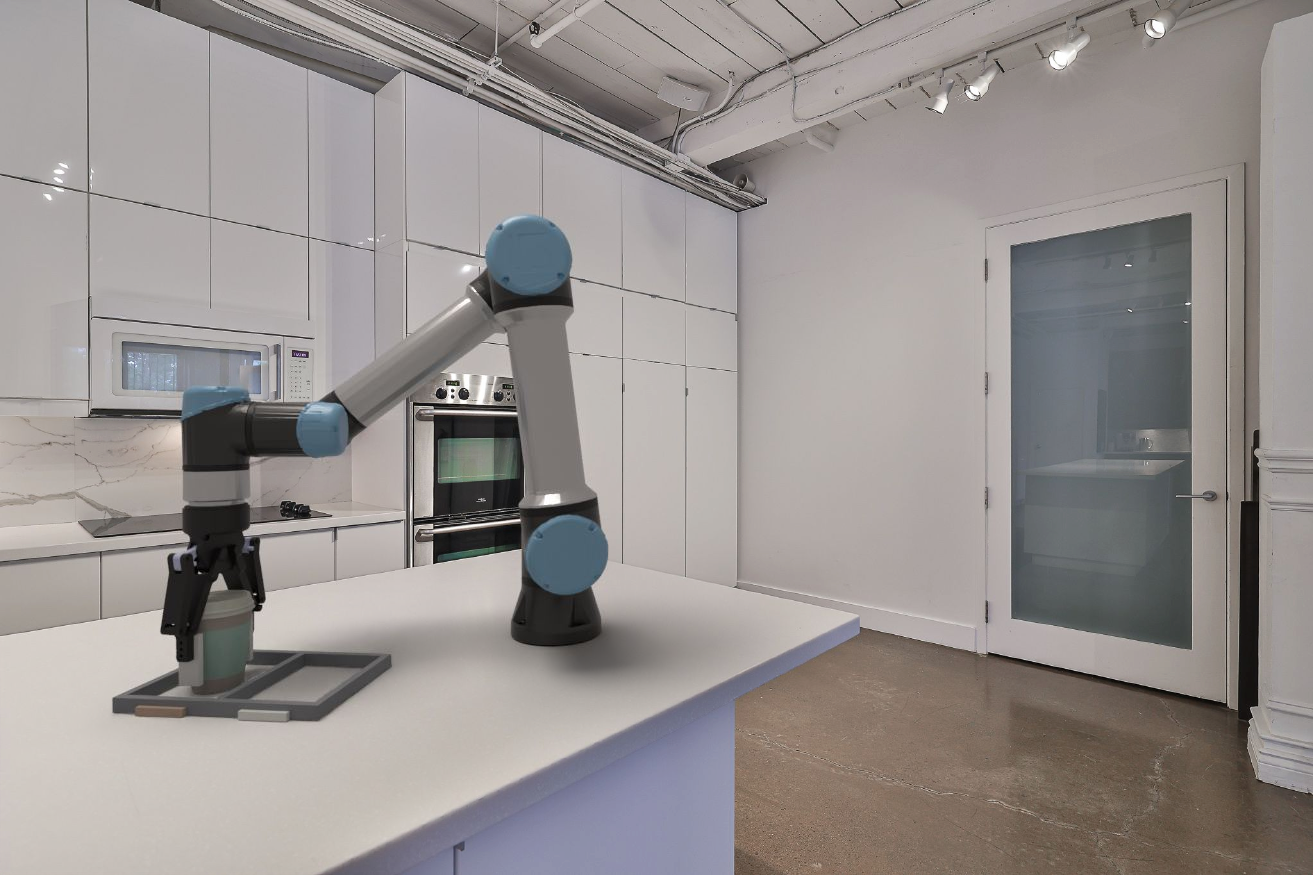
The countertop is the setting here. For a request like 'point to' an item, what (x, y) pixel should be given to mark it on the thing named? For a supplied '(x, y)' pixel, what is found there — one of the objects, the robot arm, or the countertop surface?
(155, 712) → the divided tray
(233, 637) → the coffee cup
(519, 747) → the countertop surface
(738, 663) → the countertop surface
